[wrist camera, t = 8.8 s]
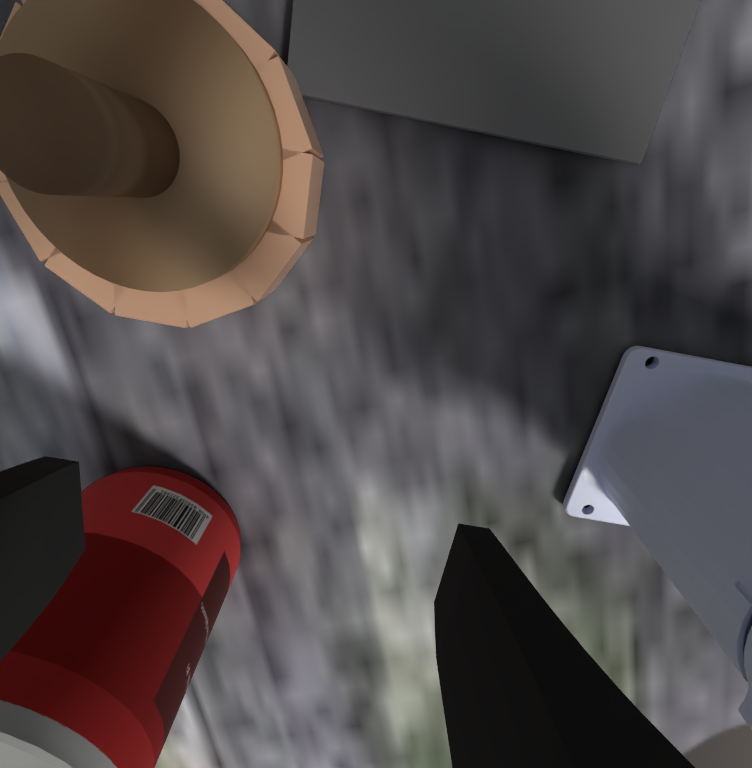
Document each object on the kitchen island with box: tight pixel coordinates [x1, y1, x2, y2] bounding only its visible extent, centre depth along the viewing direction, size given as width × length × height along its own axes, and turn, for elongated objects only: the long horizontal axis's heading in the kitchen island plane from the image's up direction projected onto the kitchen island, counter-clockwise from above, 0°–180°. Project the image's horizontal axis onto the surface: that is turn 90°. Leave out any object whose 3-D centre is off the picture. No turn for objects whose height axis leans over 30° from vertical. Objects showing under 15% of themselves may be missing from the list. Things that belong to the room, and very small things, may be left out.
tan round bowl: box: [0, 0, 325, 328], centre depth 14 cm, size 9×9×3 cm
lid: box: [0, 0, 283, 292], centre depth 11 cm, size 8×8×4 cm
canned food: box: [0, 466, 241, 768], centre depth 17 cm, size 8×8×11 cm
